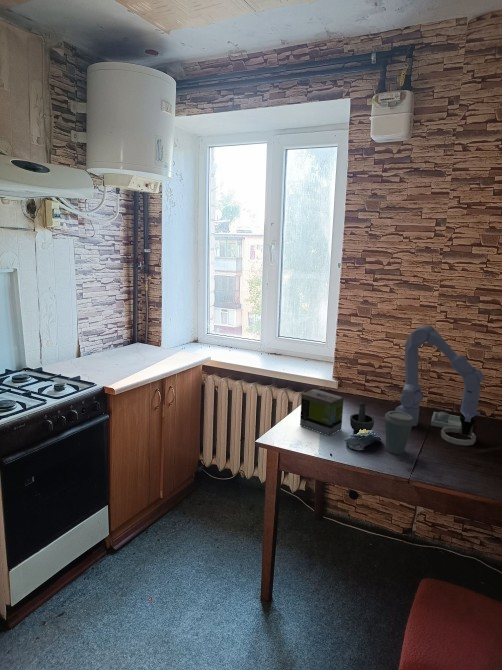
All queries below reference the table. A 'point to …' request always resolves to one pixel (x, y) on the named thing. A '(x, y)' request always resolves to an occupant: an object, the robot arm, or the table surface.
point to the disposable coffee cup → (397, 430)
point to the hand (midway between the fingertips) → (465, 432)
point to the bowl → (454, 440)
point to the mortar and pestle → (361, 420)
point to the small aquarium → (321, 411)
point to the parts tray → (452, 422)
